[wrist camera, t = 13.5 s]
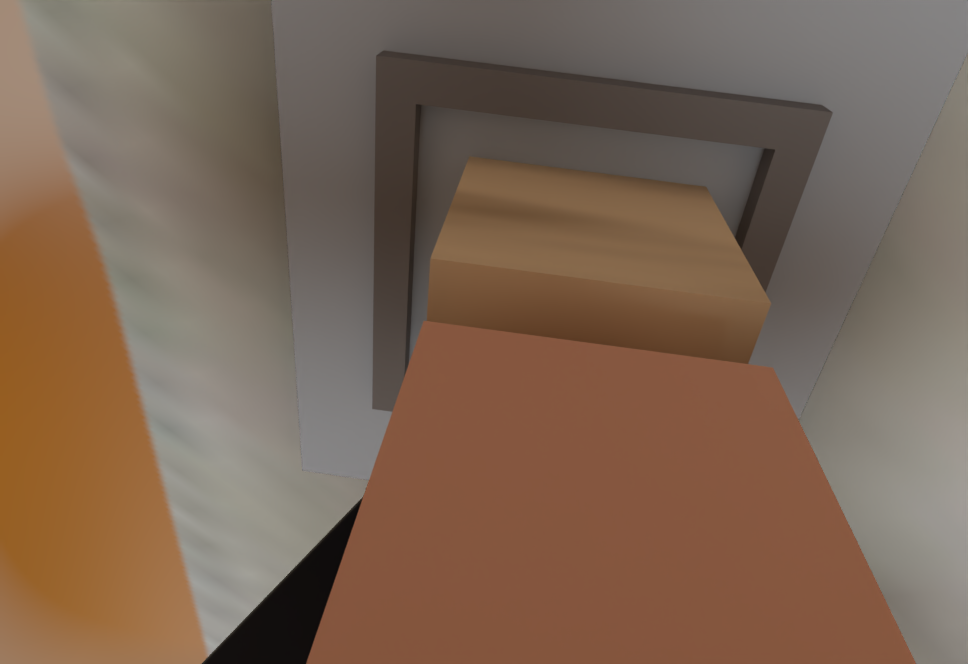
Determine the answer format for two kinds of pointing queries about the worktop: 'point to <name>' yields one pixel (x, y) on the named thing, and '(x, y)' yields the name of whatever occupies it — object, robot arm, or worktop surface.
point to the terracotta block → (597, 518)
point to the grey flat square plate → (587, 155)
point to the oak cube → (594, 262)
